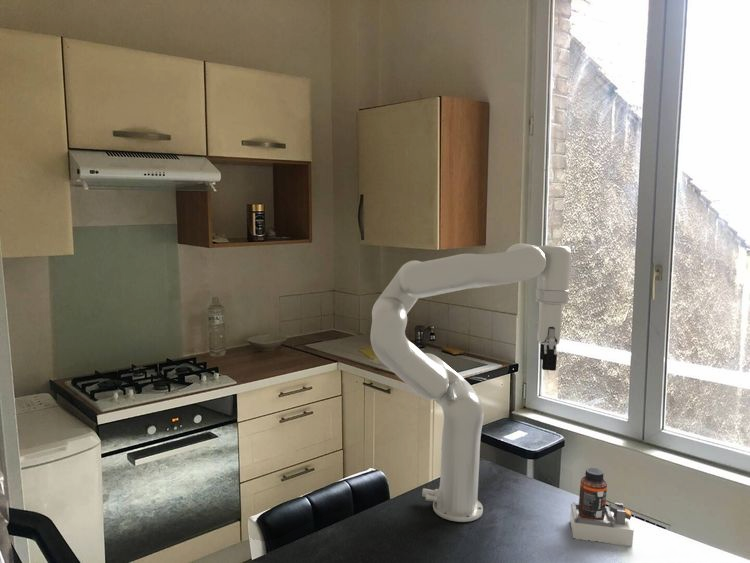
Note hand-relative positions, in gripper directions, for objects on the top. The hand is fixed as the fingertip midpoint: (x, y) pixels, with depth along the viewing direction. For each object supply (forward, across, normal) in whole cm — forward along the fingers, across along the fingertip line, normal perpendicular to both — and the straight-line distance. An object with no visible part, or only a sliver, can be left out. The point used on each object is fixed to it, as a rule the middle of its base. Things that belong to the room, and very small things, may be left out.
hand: (547, 364), depth 151 cm
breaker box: (+38, +7, +14) cm, 41 cm away
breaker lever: (+32, +7, +18) cm, 38 cm away
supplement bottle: (+34, +7, +12) cm, 37 cm away
